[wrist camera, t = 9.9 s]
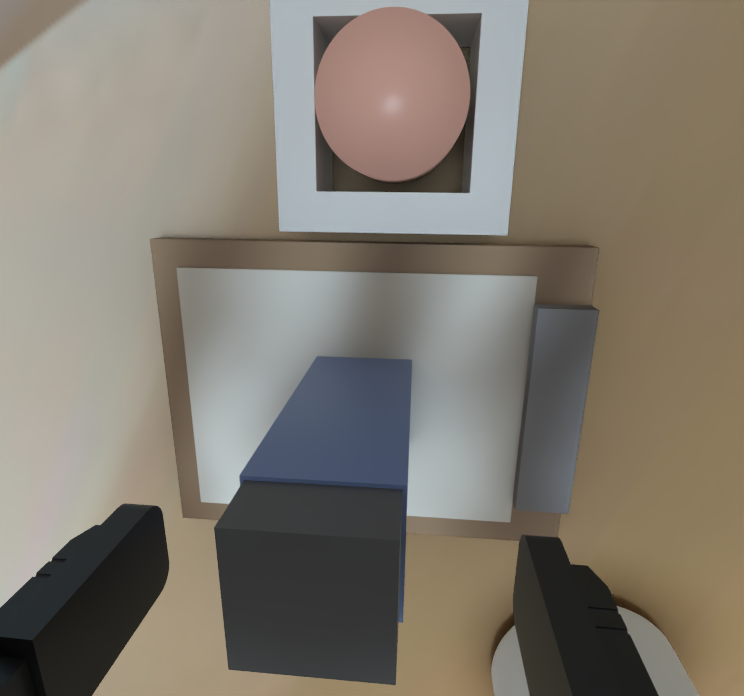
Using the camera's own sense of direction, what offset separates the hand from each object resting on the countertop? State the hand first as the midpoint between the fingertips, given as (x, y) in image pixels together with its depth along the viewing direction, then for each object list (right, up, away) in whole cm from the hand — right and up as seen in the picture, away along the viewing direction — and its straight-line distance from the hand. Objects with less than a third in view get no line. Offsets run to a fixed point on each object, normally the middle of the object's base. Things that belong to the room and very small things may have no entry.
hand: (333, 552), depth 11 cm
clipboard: (+1, +3, +9) cm, 9 cm away
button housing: (+2, +12, +6) cm, 14 cm away
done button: (+2, +12, +5) cm, 13 cm away
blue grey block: (+1, +2, +8) cm, 8 cm away
